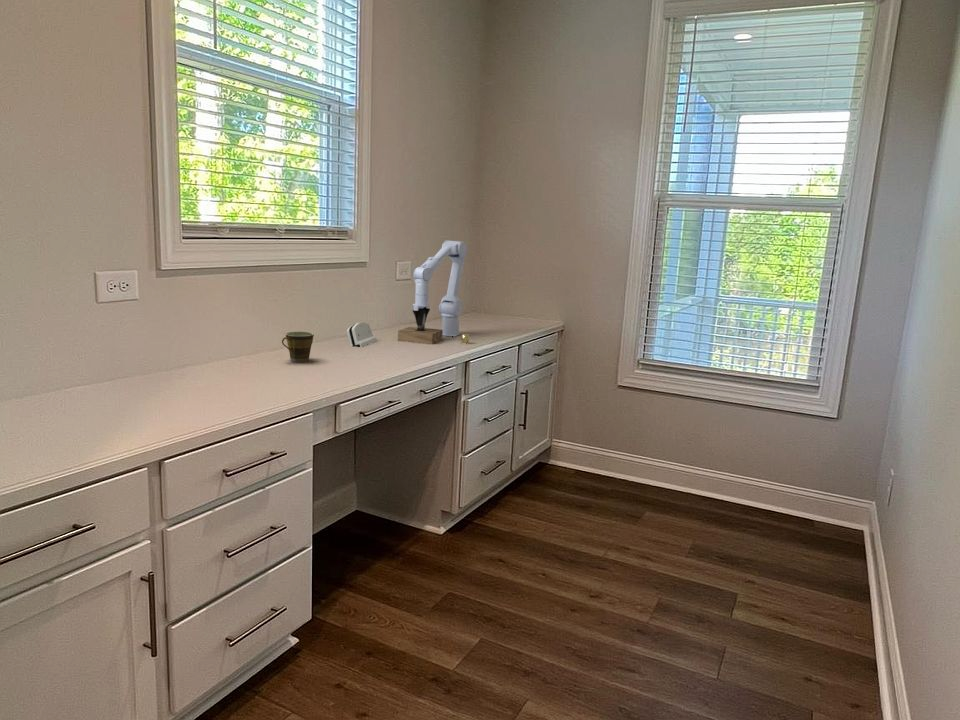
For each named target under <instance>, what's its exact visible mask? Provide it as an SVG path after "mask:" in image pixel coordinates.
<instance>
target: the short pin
mask: <svg viewBox="0 0 960 720" xmlns="http://www.w3.org/2000/svg"><path fill="white" fill-rule="evenodd" d="M469 339H470V334H468V333H461V343H460V344H462V343H466V344H465V345H468V344H467V343H469V342H470V340H469Z"/></svg>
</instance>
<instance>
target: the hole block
mask: <svg viewBox="0 0 960 720" xmlns="http://www.w3.org/2000/svg"><path fill="white" fill-rule="evenodd" d="M417 328H418V326H408V327H405V328H402V329H399V330H397V341H398V340H399V341H398V342H404V341H408V342H407V343H414V342H418V343H417V344H424V343H427V344H426V345H434V344H436V343H438V342H440V341H442V340H443V330H442V329H438V328H427V327H425V331H417ZM439 340H440V341H439ZM437 341H438V342H437ZM435 342H436V343H435ZM433 343H434V344H433Z"/></svg>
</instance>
